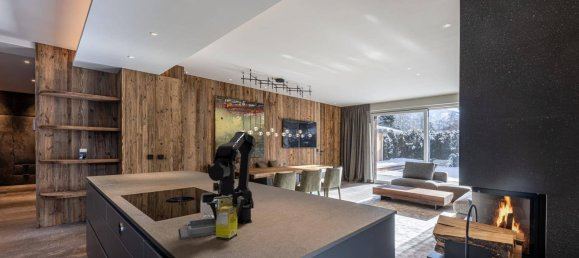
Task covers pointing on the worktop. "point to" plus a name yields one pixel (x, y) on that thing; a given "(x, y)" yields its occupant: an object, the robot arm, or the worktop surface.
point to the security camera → (208, 209)
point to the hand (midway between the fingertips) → (226, 218)
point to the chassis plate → (198, 228)
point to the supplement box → (226, 222)
